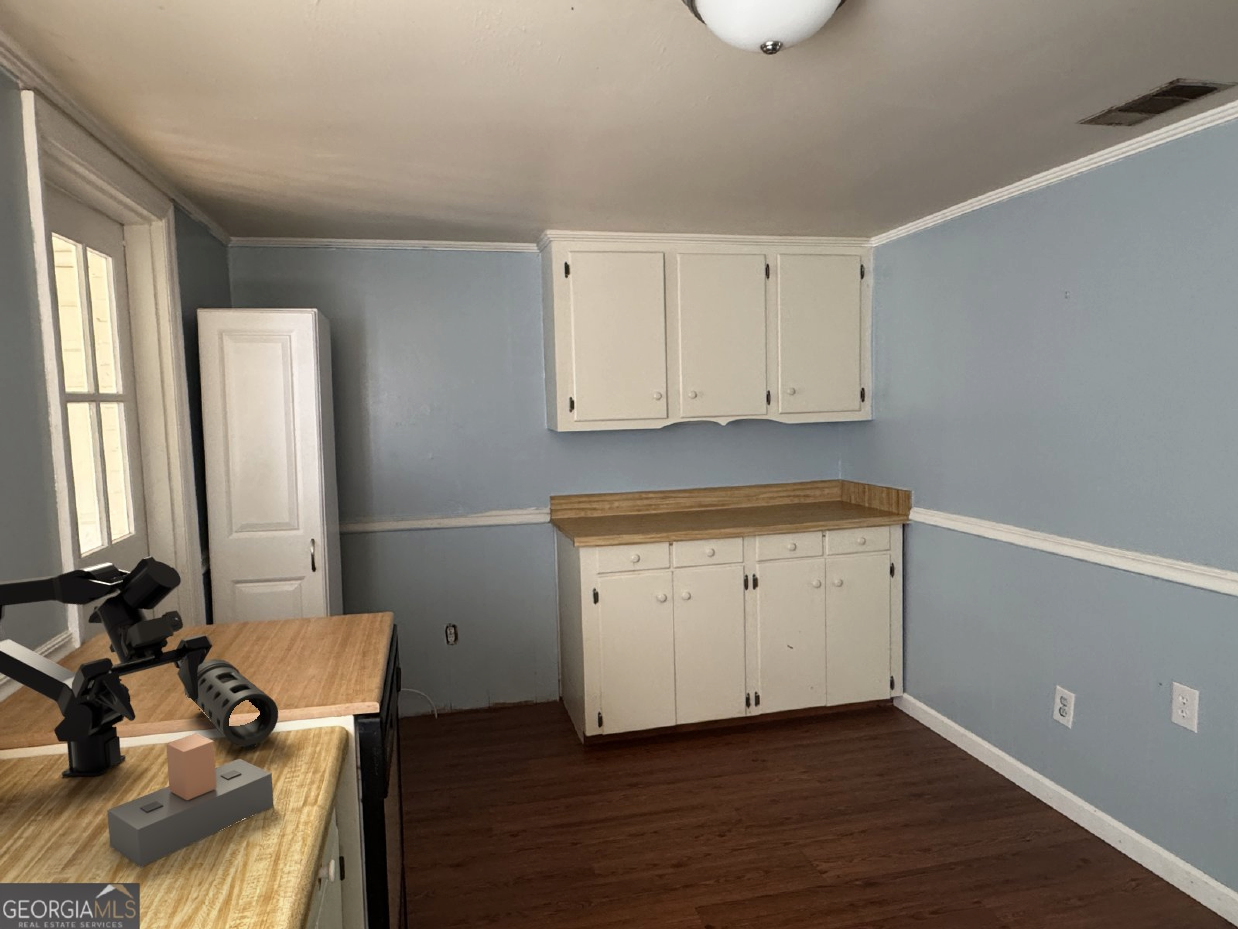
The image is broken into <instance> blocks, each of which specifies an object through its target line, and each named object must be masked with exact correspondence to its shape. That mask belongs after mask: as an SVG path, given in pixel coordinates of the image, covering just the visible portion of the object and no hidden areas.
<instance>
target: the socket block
mask: <svg viewBox="0 0 1238 929" xmlns="http://www.w3.org/2000/svg"><path fill="white" fill-rule="evenodd" d="M215 773H216V789H214V790H211V791H209V792H206V793H204V794H201V795H199V796H197V797H194V798H192V799H189V800H185V799H183V798H182V797H180V796H178V795H176V794H174V793H172V792H171V791H169V785H168V786H166V787H162V788H161V789H158V790H156V791H153V792H151V793H150V792H149V793H148V794H144V795H143V796H139V797H138V798H134V799H132V800H129V801H126V802H124V803H122V804H119V805H117V806H114V807H112V808H109V809H107V826H108V827H107V828H108V839H109V846H110V848H112V849H113V848H114V849H113V850H115V851H116V852H118V853H119V854H121V855H122V856H123V857H125V858H126V859H128V860H129V861H130V862H132V863H134V864H135V865H136V866H138V867H139V868H140V869H141V868H142V867H144V866H147V865H149V864H151V863H154V862H156V861H157V860H159V859H163V858H165V857H167V856H168V855H170V854H173V853H176V852H177V851H180V850H183V849H184V848H187V847H188V845H189V846H191V845H192V844H195V843H198V842H200V841H202V840H203V838H204V839H206V838H208V837H210V836H213V835H214V833H215V834H217V833H218V831H219V832H221V831H223V830H225V829H224V828H226V827H228V826H230V825H232V826H234V825H236V824H237V823H236V822H238V821H241V820H242V819H244V818H247V819H249V818H248V817H250V816H252V815H254V816H255V814H256V815H258V814H260V813H262V811H263V812H265V811H267V810H269V809H271V808H274V793H273V774H272V772H269V771H267V770H265V769H263V768H261V767H258V766H256V765H255V764H252V763H249V762H248V761H245V760H243V759H241V758H238V759H235V760H232V761H230V762H228V763H225V764H222V765H219V766H217V767H215ZM252 817H253V816H252ZM250 818H251V817H250ZM241 822H242V821H241ZM235 823H236V824H235ZM233 824H234V825H233ZM230 827H231V826H230ZM228 828H229V827H228ZM222 829H223V830H222ZM226 829H227V828H226ZM220 830H221V831H220ZM216 832H217V833H216ZM209 835H210V836H209ZM207 836H208V837H207ZM201 839H202V840H201Z"/></svg>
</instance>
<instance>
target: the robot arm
mask: <svg viewBox="0 0 1238 929" xmlns="http://www.w3.org/2000/svg"><path fill="white" fill-rule="evenodd" d="M181 581H182V579H181V576H180V573H179V572H178V571H177V570H176V568H175V567H173V566H170V565H168V564H167V563H165V562H163V561H158V560H156V559H155V558H154V557H153V556H147V557H144V558H142V559H140V561H138V562H137V564H136V566H135V567H134V568H133V569H132V570H131V571H127V570H124V569H120V568H119V569H118V567H117V566H115V564H114V563H111V562H101V563H97V564H93V565H90V566H86V567H85V566H84V567H81V568H78V569H74V570H71V571H68V572H64V573H61V574H57V575H50V576H49V575H48V576H40V577H38V576H37V577H31V578H21V579H12V580H6V581H5V580H4V581H3V580H0V623H1V622H2V621H3V620H4V618H5V616H6V615H5V612H6V606H12V605H13V606H14V605H21V604H23V605H24V604H31V603H38V602H48V601H55V602H58V603H62V604H64V605H75V606H76V605H77V606H83V605H88V604H91V603H94V602H97V601H99V600H103V599H105V600H104V601H103V602H102V603H101V604H100V605H99V606H97V605H96V606H94V608H93V612H92V613H91V614H90V615H89V617H88V620H87V621H88V622H87V623H89V624H102V626H103V628H104V630H105V632H106V634H107V636H108V637H107V638H109V640H110V646H109V650H110V652H111V653H113V654H114V653H115V654H116V656H117V658H118V661H119V663H117V664H115V663H113V661H112V659H111V658H108V657H104V658H100V659H99V658H98V659H96V660H92V661H88V662H84V663H81V664H80V666H79V667H78V669H77V670H76V672H74V671H72V670H71V669H69V668H66V667H64V666H62V665H61V664H58V663H56V662H54V661H53V660H50V659H49V658H46V657H45V656H43V655H41V654H38V653H37V652H35V651H33V650H31V649H29V648H28V647H25V646H24V645H21V644H20V643H17V642H15V641H13V640H11V639H10V638H9V637H7V634H6V632H5V629H4V626H3V625H2V624H0V674H1V675H3V676H5V677H6V678H9V679H11V680H13V681H15V682H17V683H19V684H21V685H22V686H25V687H26V688H29V689H30V690H32V691H34V692H36V693H38V694H40V695H42V696H44V697H46V698H48V699H49V700H52V701H53V702H55V703H57V705H58V709H59V711H60V714H61V716H62V717H64V718H63V719H62V720H61V721H60V723H59V724H58V725H56V727H55V728H54V729H53V730H54V731H53V732H54V734H55V736H56V738H57V741H58V742H61V743H66V744H67V747H66V748H67V758H68V759H67V760H68V768H67V769H65V770H63V771H62V772H61V776H63V777H81V776H82V777H83V776H84V777H89V776H90V777H93V776H94V777H95V776H96V777H98V776H101V775H103V774H104V773H106V772H107V771H109V770H110V769H112V768H114V767H115V766H116V765H118V764H119V763H121V762H123V760H125V759H126V755H124V754H121V744H120V743H121V742H120V740H121V739H120V736H119V735H118V730H117V726H116V725H117V724H118V723H122V722H123V721H124V719H127V720H129V721H130V722H133V721H135V719H136V714H135V710H134V707H133V705H132V703H131V695H130V693H129V692H130V689H129V688H128V686H126V685H125V684H123V683H122V681H123V679H122V678H121V677H123V676H127V675H131V674H135V673H138V672H143V671H145V670H150V669H154V668H156V667H160V666H164V665H167V664H168V665H169V664H172V663H173V664H174V666H175V668H176V669H178V671H177V676H178V678H179V680H180V681H181V683H182V684H183V685H182V686H183V687H185V689H186V691H187V692H188V694H189V696H190V697H191V698H192V700H193V701H197V699H198V666H199V665H200V664H202V663H203V662H204V661H206V658H207V656H208V654H209V652H210V651H211V649H212V648H213V646H214V645H213V643H212V641H211V640H210V638H209V637H208V636H207V635H205V634H198V635H195V636H189V637H186V638H182V639H181V640H180V641H179V642H178V645H177V647H176V649H172V650H171V649H170V650H168V651H163V649H164V648H166V647H167V646H168V642H169V641H168V640H167V639H169V638H170V637H174V635H175V633H176V632H179V631H180V630H182V629H183V627H184V622H183V619H182V616H181V615H180V613H179V611H178V610H177V609H176V610H171V611H166V612H165V613H164V614H162V615H161V616H160V617H156V618H151V619H148V618H147V616H146V614H145V612H144V610H147V611H148V610H154V609H156V608H157V607H158V606H159V605H160V604H161V603H162V602H163V601H164V600H165V599H166V598H168V596H169V595H171V594H172V592H173V591H175V590H176V589H177V588H178V587H179V586H180V584H181ZM106 598H107V599H106Z"/></svg>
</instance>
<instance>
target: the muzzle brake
mask: <svg viewBox="0 0 1238 929" xmlns="http://www.w3.org/2000/svg"><path fill="white" fill-rule="evenodd" d="M183 687H184V686H183ZM183 690H184V696H186V695H187V697H188V698H191V697H190V696H189V694H188V692H187V691H186V689H185V687H184V688H183ZM187 697H186V698H187ZM191 699H192V698H191ZM245 700H249V702H251V703H252V705H254V706H255V707H256V708H258V710H259V711H260V715H259V716H258V717H257V719H255V720H254V721H252V722H250V723H247V724H245V725H240V726H229V718H230V715H231V713H232V711H233V710H234V708H235V707H236V706H237V705H239V704H240V703H241V702H243V701H245ZM194 702H195V703H196V704H197V705H198V706H199V707H200V708H201V709H202V710H203V712H205V714H206V715H207V716H208V717H209V719H210V720H211V721H210V720H209V719H208V720H209V721H210V723H211V722H212V723H213V724H212V723H211V724H212V725H214V727H215V728H216V729H217V730H218V731H219V733H220V734H222V736H223V737H225V739H226V740H227V741H228V742H230V743H231V744H233V745H235V746H238V747H245V748H246V750H247V751H249V750H253V749H256V748H257V744H259V743H261V742H262V741H264V740H266V738H268V737H269V736H270V735H271V734H272V732H273V731H274V729H275V728H276V726H277V723H278V720H279V709H278V708H279V707H278V706H277V703H276V702H275V700H274V699H273V698H272V697H270V696H269V695H268V694H267V693H265V692H264V691H263V690H262V689H260V688H259V687H258V686H256V685H255V684H254V683H253V682H252V681H251V680H249V679H248V678H247V677H246V676H244V675H243V674H241V672H240V671H239V670H238V669H237V667H235V666H234V665H233V664H232V663H231V662H229V661H227V660H225V659H222V658H221V659H220V658H212V659H207V660H204V661H203V663H202V664H200V665H199V666H198V699H197V701H194Z"/></svg>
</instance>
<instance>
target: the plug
mask: <svg viewBox="0 0 1238 929" xmlns="http://www.w3.org/2000/svg"><path fill="white" fill-rule="evenodd" d="M165 746H166V759H167V773H168V774H167V775H168V786H169V791H171V792H172V793H174V794H176V795H178V796H180V797H182V798H183V799H185V800H189V799H192V798H194V797H197V796H199V795H201V794H204V793H206V792H209V791H211V790H214V789H216V773H215V768H216V761H215V760H216V759H215V742H214V740H212V739H210V738H208V737H205V736H202V735H200V734H199V733H197V732H195V733H192V734H189V735H187V736H183V737H181V738H179V739H175V740H173V741H169V742H167V743H166V745H165Z"/></svg>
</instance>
